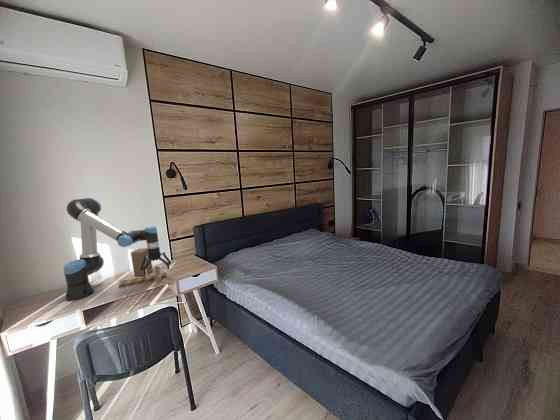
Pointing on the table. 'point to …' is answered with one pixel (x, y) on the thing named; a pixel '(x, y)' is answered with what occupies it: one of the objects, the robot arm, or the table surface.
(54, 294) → the table surface
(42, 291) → the table surface
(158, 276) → the gauge
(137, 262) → the wooden block
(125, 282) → the board
